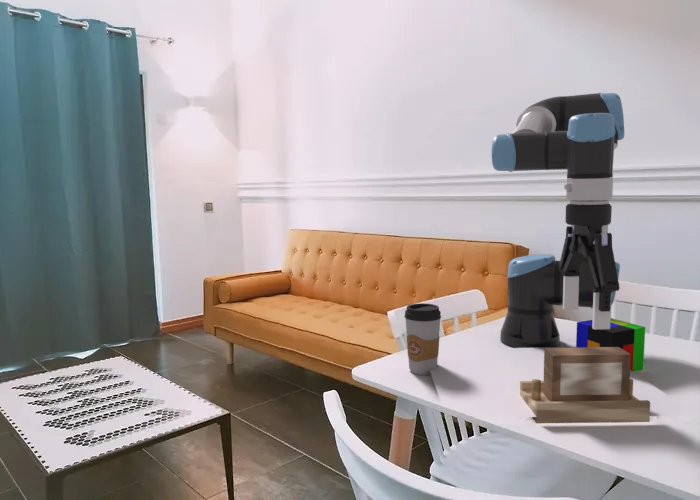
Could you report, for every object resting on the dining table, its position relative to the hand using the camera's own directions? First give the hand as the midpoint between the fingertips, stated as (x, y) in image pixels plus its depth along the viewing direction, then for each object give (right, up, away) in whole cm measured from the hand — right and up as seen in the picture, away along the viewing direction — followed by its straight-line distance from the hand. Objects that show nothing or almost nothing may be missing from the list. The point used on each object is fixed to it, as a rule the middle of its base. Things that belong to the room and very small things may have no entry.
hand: (584, 318), depth 99 cm
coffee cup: (-26, -15, +25) cm, 40 cm away
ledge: (0, -18, +2) cm, 18 cm away
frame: (+1, -15, +2) cm, 15 cm away
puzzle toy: (+17, -15, +26) cm, 34 cm away
